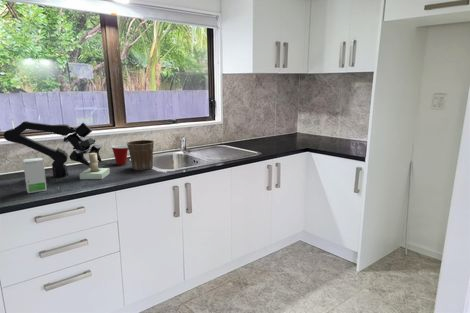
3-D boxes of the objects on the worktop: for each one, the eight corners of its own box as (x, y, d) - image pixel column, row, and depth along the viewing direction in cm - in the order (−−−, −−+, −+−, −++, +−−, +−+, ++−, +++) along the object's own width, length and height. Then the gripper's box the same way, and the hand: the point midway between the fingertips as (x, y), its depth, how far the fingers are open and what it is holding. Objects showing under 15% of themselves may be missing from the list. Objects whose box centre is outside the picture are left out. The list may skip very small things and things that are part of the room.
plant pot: (123, 171, 195) (121, 144, 191) (135, 164, 210) (133, 139, 207) (149, 171, 192) (148, 144, 189) (159, 165, 208) (158, 140, 205)
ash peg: (89, 177, 182) (87, 154, 179) (93, 175, 186) (90, 152, 183) (97, 177, 182) (95, 154, 179) (100, 175, 186) (98, 152, 184)
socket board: (80, 179, 178) (79, 174, 178) (89, 173, 190) (88, 168, 189) (102, 178, 179) (101, 173, 178) (109, 173, 190) (109, 168, 190)
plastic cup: (132, 164, 210) (131, 146, 208) (115, 166, 204) (113, 148, 202) (127, 161, 219) (126, 143, 216) (111, 163, 213) (109, 145, 211)
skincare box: (27, 193, 156) (22, 161, 152) (26, 190, 161) (21, 159, 157) (47, 190, 160) (43, 159, 157) (46, 187, 166) (41, 157, 162)
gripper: (71, 135, 172) (90, 157, 171) (96, 130, 189) (113, 150, 188) (61, 149, 176) (79, 171, 175) (86, 143, 193) (104, 163, 192)
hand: (95, 163), depth 182 cm, fingers open, 9 cm apart
